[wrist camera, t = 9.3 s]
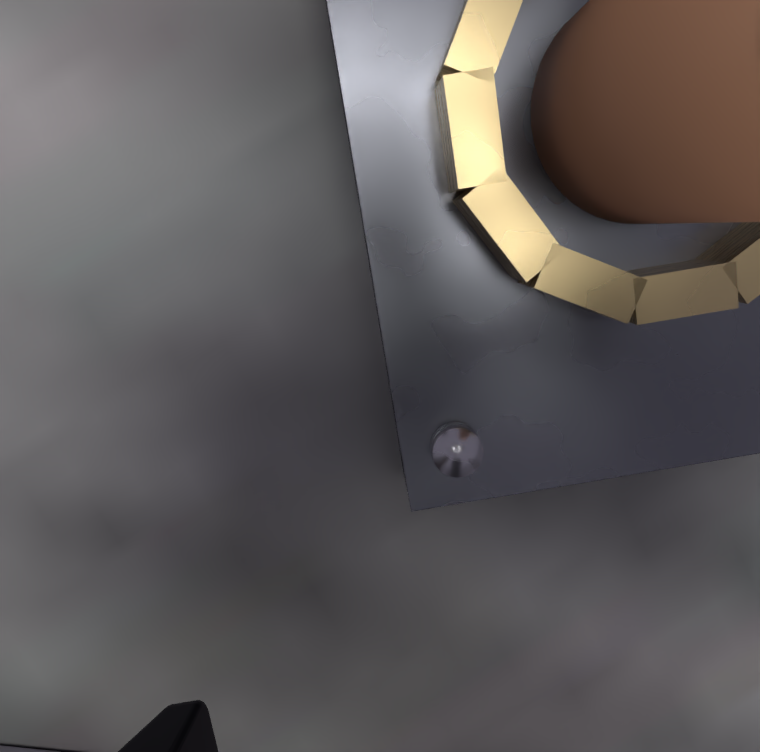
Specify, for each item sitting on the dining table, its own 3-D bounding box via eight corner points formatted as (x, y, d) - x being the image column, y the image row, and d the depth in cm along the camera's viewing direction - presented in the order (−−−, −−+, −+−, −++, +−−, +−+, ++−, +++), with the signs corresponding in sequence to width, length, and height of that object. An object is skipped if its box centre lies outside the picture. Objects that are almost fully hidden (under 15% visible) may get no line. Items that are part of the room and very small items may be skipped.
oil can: (759, 204, 16) (1084, 185, 9) (543, 240, 16) (694, 251, 9) (742, -143, 14) (1117, -504, 7) (505, -103, 14) (649, -424, 7)
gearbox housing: (859, 399, 20) (984, 442, 16) (404, 476, 20) (416, 537, 16) (843, -465, 15) (1008, -699, 12) (265, -366, 15) (234, -567, 12)
